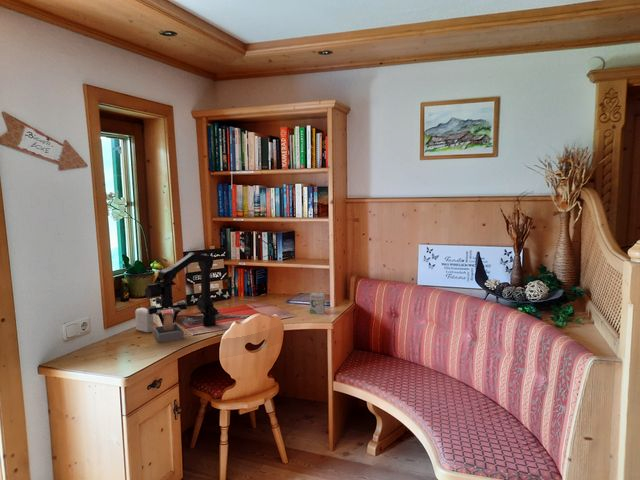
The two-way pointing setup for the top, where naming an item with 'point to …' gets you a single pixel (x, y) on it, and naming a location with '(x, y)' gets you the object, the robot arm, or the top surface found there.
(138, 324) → the photo printer
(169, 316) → the terracotta cylinder
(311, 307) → the ink box
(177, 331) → the bin
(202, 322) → the robot arm
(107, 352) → the top surface
